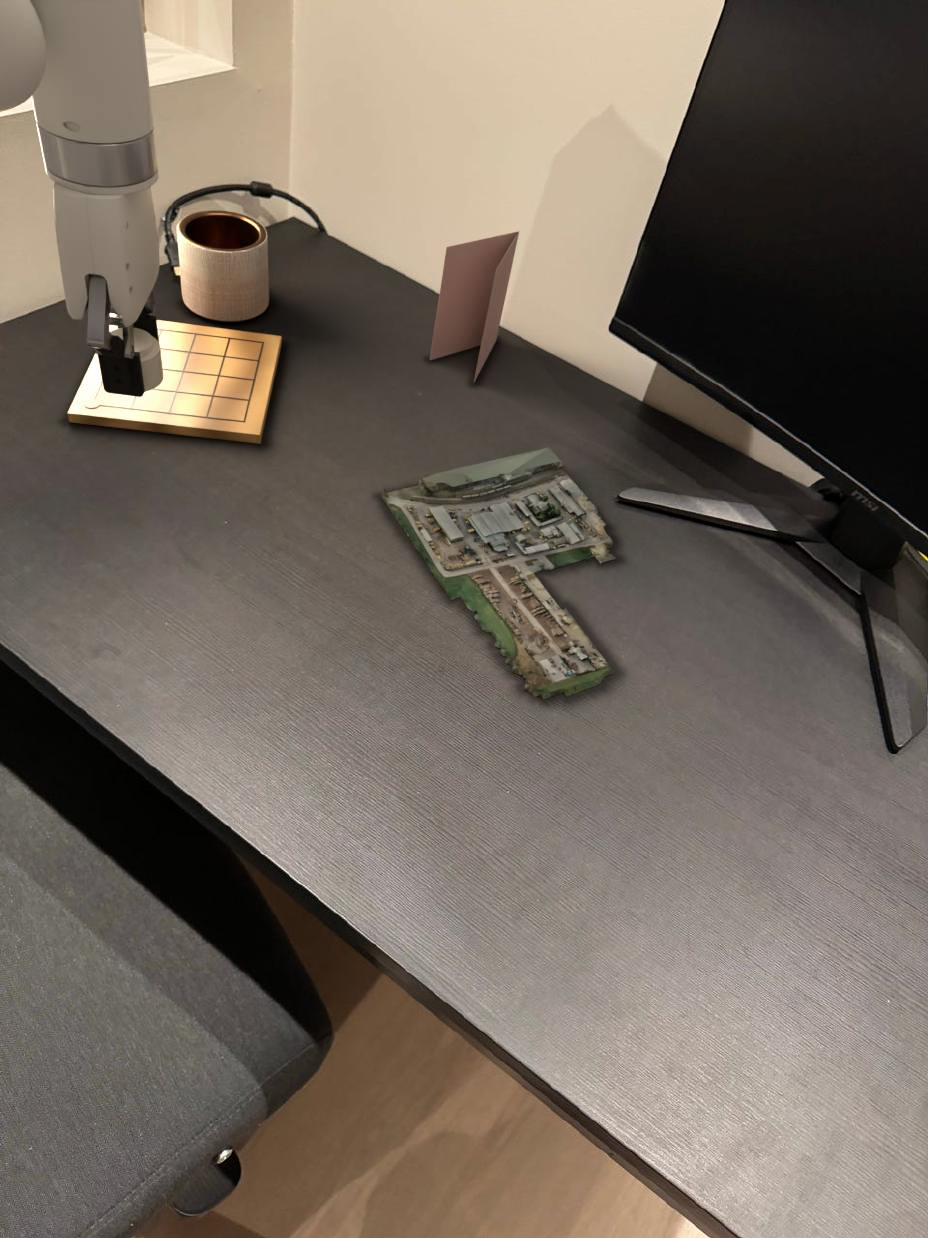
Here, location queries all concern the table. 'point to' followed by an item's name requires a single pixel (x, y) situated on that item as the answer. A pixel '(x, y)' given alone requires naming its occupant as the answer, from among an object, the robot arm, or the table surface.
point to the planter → (223, 265)
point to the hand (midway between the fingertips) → (133, 372)
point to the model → (512, 558)
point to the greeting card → (473, 296)
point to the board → (192, 386)
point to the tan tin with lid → (147, 357)
